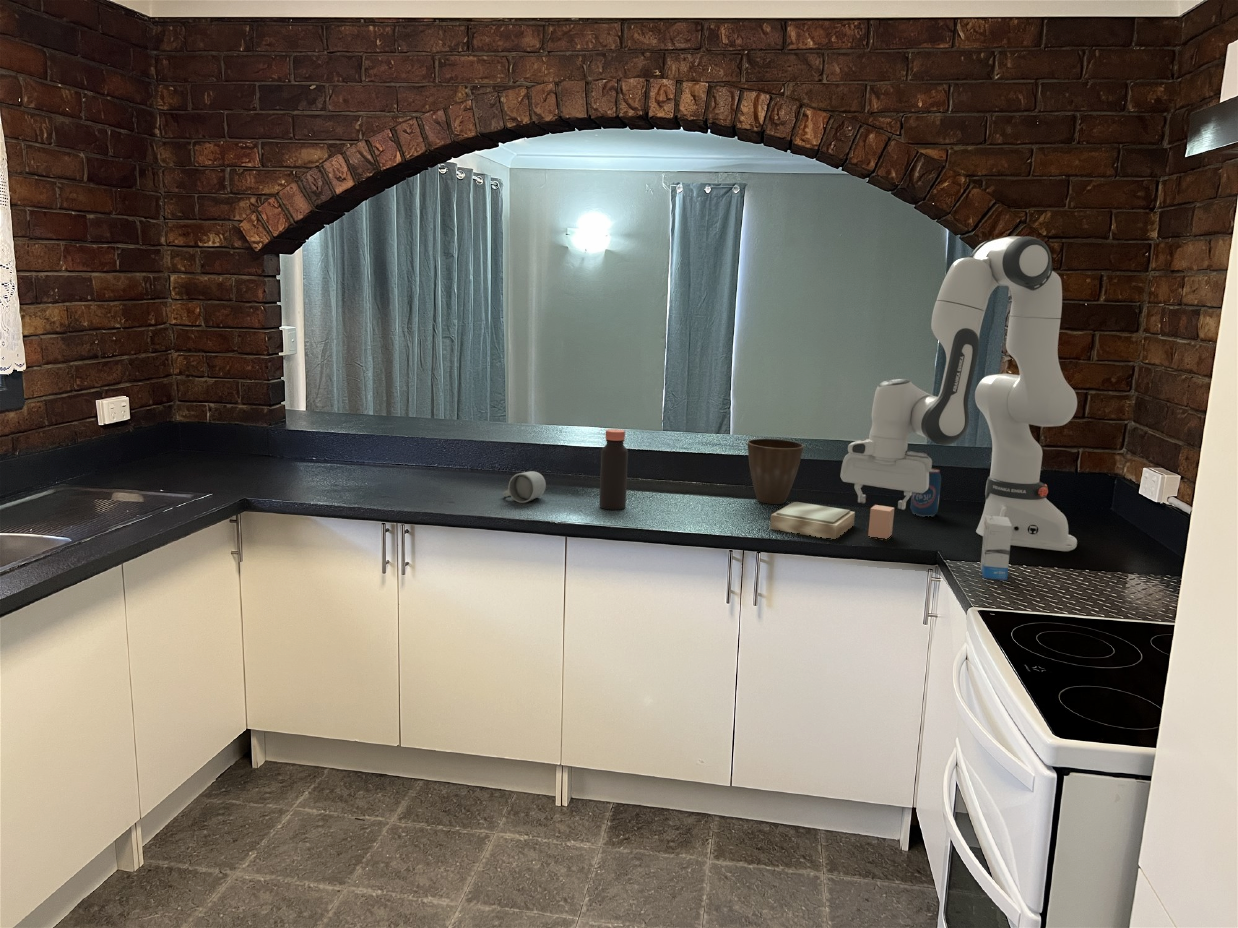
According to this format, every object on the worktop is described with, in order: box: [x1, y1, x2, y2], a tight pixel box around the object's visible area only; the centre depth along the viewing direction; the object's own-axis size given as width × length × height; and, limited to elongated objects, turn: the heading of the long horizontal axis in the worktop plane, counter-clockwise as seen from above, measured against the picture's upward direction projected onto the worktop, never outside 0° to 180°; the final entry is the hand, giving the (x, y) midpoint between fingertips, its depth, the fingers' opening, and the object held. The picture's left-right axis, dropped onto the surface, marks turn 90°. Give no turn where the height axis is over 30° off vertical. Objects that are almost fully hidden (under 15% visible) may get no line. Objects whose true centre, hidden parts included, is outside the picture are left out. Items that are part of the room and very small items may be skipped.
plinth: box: [769, 501, 856, 540], centre depth 233 cm, size 16×16×4 cm
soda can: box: [909, 467, 942, 518], centre depth 250 cm, size 7×7×12 cm
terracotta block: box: [867, 504, 895, 539], centre depth 227 cm, size 4×4×7 cm
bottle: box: [598, 428, 629, 511], centre depth 243 cm, size 7×7×20 cm
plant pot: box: [747, 438, 805, 505], centre depth 257 cm, size 15×15×16 cm
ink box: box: [980, 515, 1012, 581], centre depth 200 cm, size 9×5×12 cm, turn 163°
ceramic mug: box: [502, 470, 547, 504], centre depth 249 cm, size 11×8×8 cm
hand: (881, 505), depth 226 cm, fingers open, 8 cm apart
